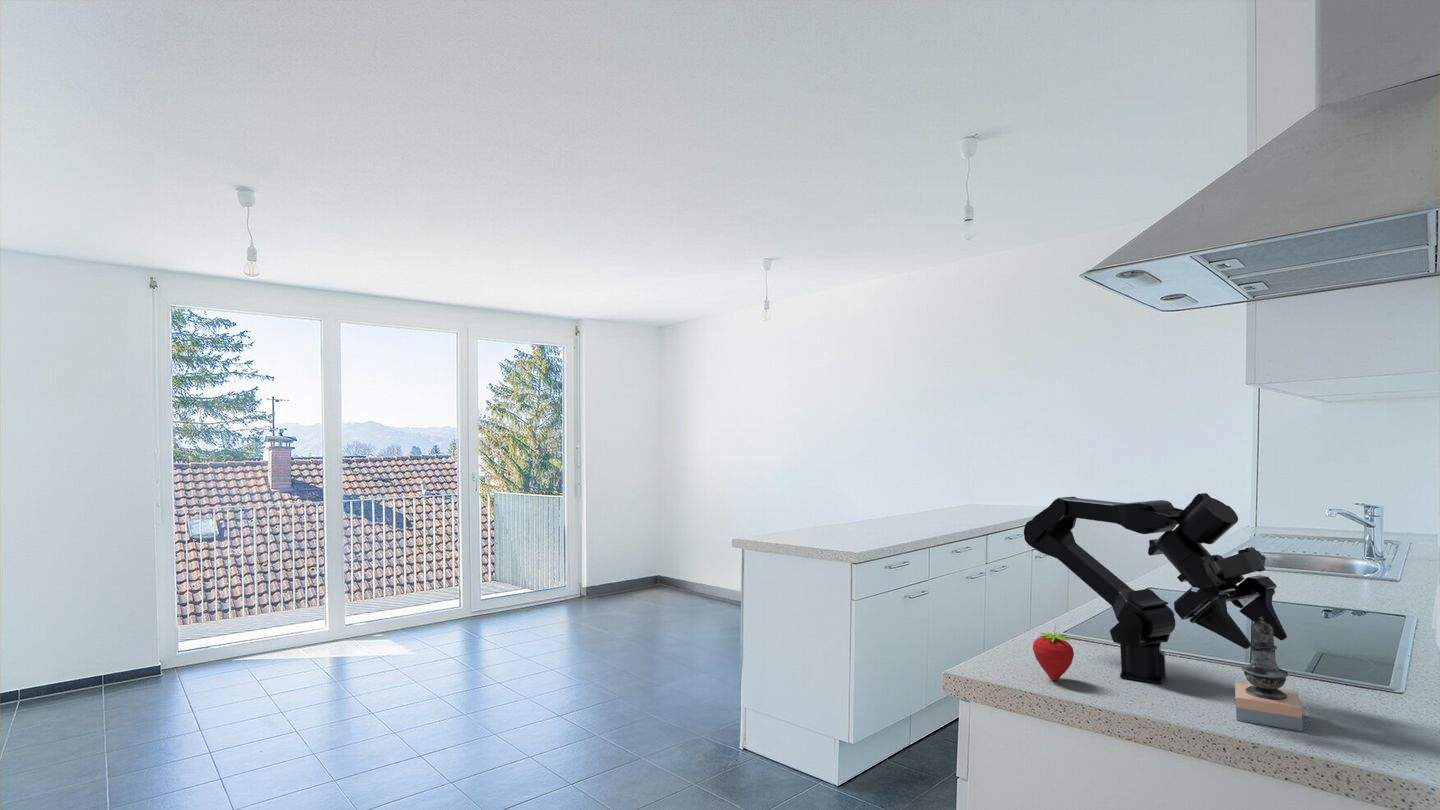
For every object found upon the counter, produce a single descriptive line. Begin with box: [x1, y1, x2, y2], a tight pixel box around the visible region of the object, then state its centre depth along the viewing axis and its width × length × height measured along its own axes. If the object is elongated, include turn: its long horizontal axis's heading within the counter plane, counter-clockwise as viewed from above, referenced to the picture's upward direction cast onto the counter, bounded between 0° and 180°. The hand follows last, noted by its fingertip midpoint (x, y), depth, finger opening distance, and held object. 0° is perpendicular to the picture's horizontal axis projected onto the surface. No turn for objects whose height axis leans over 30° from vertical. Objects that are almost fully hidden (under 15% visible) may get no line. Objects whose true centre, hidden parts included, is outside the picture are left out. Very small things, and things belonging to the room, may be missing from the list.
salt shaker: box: [1241, 616, 1289, 700], centre depth 113 cm, size 6×6×12 cm
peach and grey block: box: [1234, 681, 1304, 732], centre depth 113 cm, size 8×8×4 cm
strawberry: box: [1032, 625, 1075, 681], centre depth 131 cm, size 6×8×10 cm
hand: (1266, 643), depth 113 cm, fingers open, 9 cm apart
